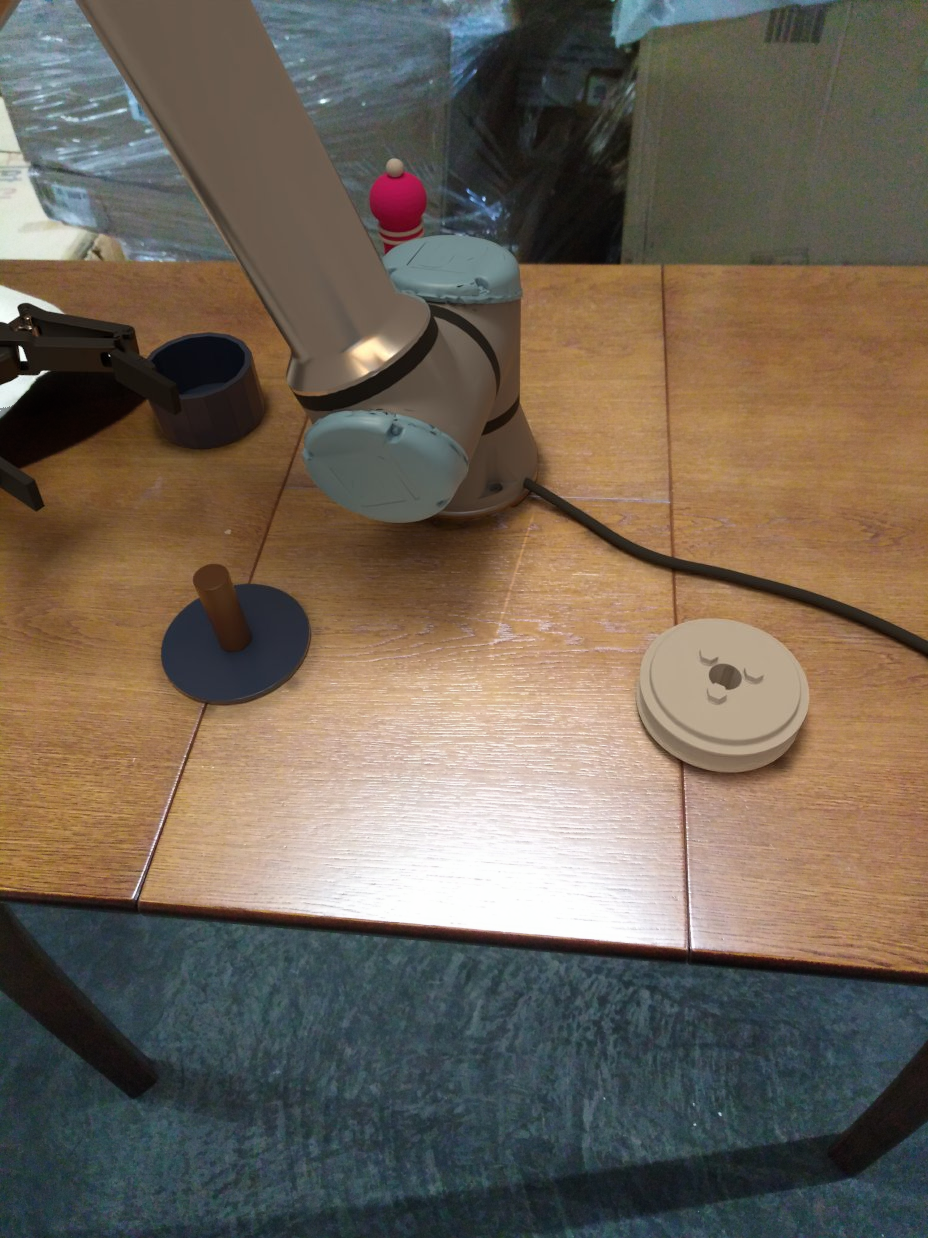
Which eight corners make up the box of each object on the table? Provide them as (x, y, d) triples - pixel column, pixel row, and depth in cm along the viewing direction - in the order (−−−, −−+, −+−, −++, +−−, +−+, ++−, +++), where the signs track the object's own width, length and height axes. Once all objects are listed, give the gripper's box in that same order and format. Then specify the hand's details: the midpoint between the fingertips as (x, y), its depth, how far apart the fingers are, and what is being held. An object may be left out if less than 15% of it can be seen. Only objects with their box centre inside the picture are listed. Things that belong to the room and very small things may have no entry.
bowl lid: (332, 605, 80) (314, 532, 72) (278, 722, 72) (252, 654, 65) (203, 582, 82) (174, 509, 75) (138, 692, 74) (98, 624, 67)
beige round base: (670, 623, 77) (679, 585, 73) (818, 681, 72) (835, 644, 68) (608, 735, 70) (614, 699, 66) (767, 806, 65) (783, 772, 62)
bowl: (280, 389, 100) (268, 338, 95) (239, 455, 93) (223, 404, 88) (188, 377, 102) (171, 326, 97) (140, 441, 95) (120, 390, 90)
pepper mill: (371, 344, 104) (345, 170, 89) (396, 311, 109) (377, 139, 93) (427, 356, 103) (411, 179, 87) (451, 321, 107) (440, 147, 91)
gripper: (54, 299, 82) (230, 401, 77) (-207, 441, 68) (-16, 578, 63) (32, 221, 76) (221, 326, 71) (-259, 361, 62) (-53, 504, 57)
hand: (110, 445), depth 67 cm, fingers open, 13 cm apart
